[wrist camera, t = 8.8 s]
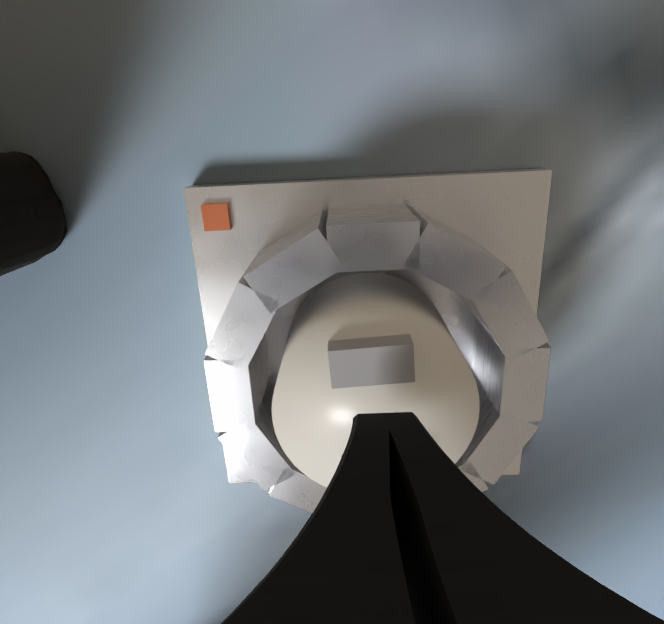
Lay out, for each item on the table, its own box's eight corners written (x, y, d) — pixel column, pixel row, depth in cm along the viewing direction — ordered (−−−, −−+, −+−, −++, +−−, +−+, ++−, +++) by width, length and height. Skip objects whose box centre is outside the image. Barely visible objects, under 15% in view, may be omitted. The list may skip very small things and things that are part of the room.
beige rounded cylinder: (448, 411, 17) (485, 506, 13) (297, 422, 17) (284, 519, 13) (445, 264, 15) (488, 317, 11) (276, 280, 15) (252, 338, 11)
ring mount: (512, 460, 19) (552, 538, 15) (233, 469, 19) (208, 546, 15) (541, 168, 15) (605, 178, 11) (191, 185, 15) (145, 200, 11)
